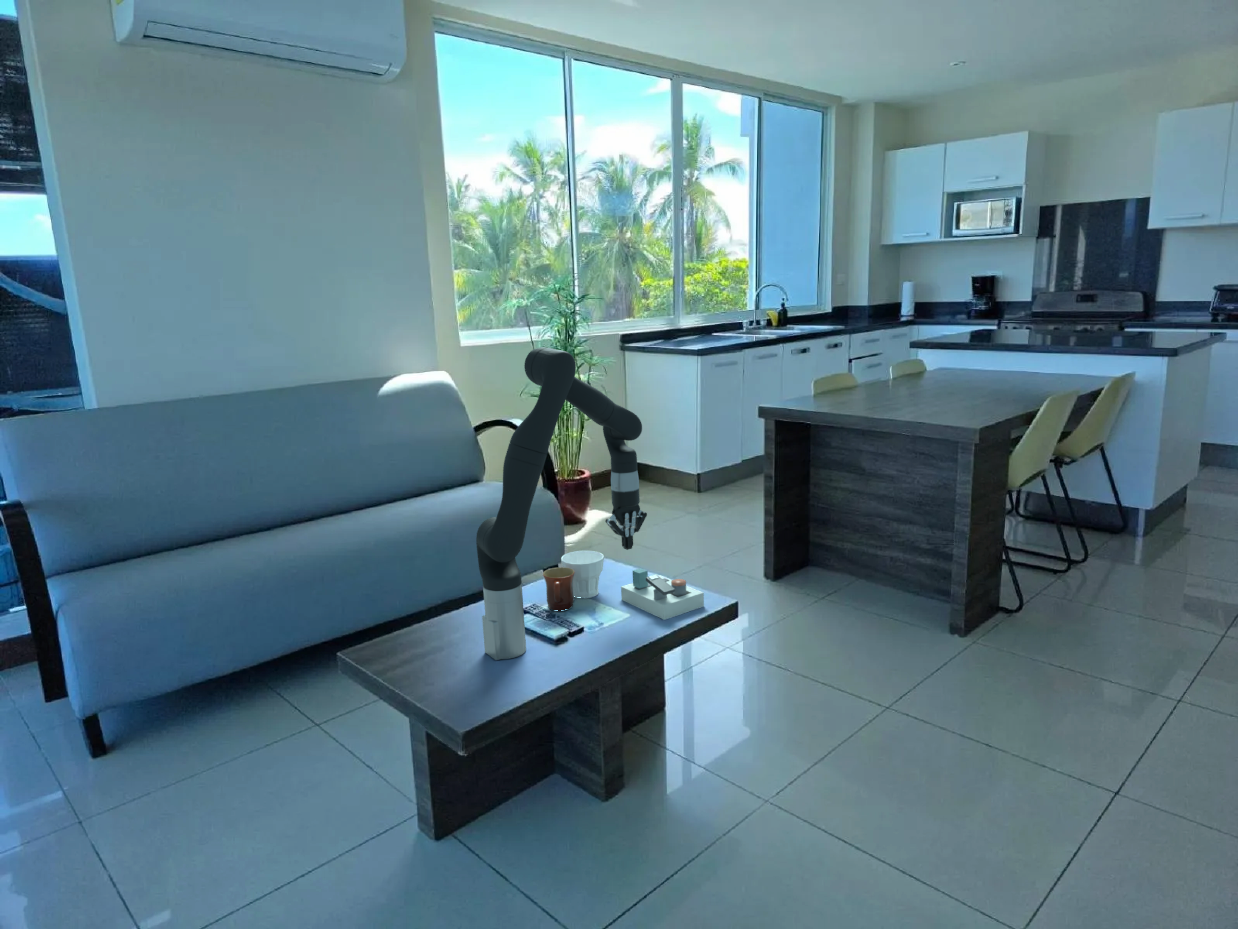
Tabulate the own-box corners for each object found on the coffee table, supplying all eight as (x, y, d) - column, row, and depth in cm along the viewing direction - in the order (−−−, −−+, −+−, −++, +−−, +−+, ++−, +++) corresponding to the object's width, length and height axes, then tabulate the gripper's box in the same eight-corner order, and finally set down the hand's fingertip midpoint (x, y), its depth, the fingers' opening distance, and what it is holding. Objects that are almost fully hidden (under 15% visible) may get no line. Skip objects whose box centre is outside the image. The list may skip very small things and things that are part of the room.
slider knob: (639, 588, 219) (639, 573, 218) (633, 585, 221) (632, 570, 220) (648, 586, 220) (647, 570, 219) (641, 583, 223) (641, 568, 222)
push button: (678, 603, 214) (677, 585, 213) (668, 599, 217) (668, 581, 216) (689, 599, 216) (689, 581, 215) (679, 595, 219) (679, 577, 218)
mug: (546, 602, 224) (544, 567, 222) (577, 601, 223) (575, 566, 221) (541, 619, 212) (539, 582, 210) (574, 618, 212) (572, 581, 210)
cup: (581, 604, 221) (579, 567, 219) (554, 594, 230) (552, 557, 228) (614, 592, 229) (612, 556, 227) (586, 582, 238) (585, 547, 236)
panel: (664, 619, 208) (663, 594, 207) (621, 599, 223) (620, 576, 222) (703, 606, 216) (703, 582, 215) (660, 588, 231) (659, 565, 230)
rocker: (663, 595, 208) (664, 591, 207) (645, 580, 213) (646, 576, 213) (674, 592, 210) (675, 588, 209) (655, 577, 215) (656, 573, 215)
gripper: (613, 493, 206) (616, 557, 209) (653, 485, 213) (655, 546, 217) (596, 489, 212) (600, 550, 215) (636, 480, 219) (638, 540, 223)
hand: (627, 548), depth 216 cm, fingers closed
